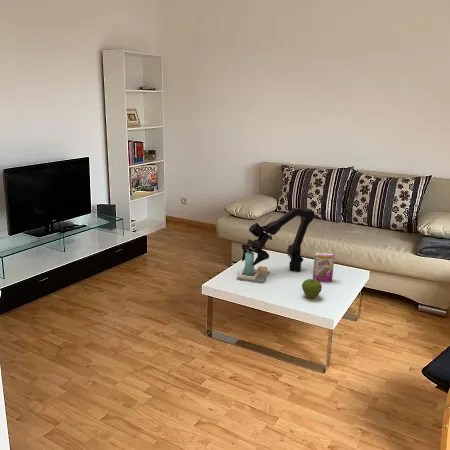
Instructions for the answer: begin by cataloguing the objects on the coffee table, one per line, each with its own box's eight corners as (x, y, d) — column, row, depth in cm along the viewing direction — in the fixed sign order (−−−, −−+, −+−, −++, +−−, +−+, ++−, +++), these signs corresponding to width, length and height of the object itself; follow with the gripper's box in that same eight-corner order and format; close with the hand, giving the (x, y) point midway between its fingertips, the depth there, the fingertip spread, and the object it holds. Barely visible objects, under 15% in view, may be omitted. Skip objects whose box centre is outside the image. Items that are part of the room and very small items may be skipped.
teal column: (254, 274, 290) (254, 252, 286) (252, 277, 285) (252, 255, 281) (246, 273, 291) (246, 251, 287) (243, 276, 286) (244, 254, 283)
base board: (269, 273, 296) (269, 266, 295) (263, 283, 280) (263, 276, 279) (244, 269, 301) (244, 263, 299) (236, 279, 285) (236, 273, 284)
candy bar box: (313, 281, 285) (315, 255, 280) (312, 278, 289) (314, 252, 285) (332, 282, 284) (334, 256, 279) (331, 279, 288) (333, 253, 284)
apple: (297, 294, 266) (298, 277, 264) (314, 291, 270) (315, 275, 267) (308, 302, 257) (309, 284, 254) (324, 299, 260) (326, 282, 258)
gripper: (243, 230, 290) (229, 252, 286) (266, 237, 277) (252, 260, 273) (252, 240, 298) (239, 261, 293) (275, 248, 284) (261, 270, 280)
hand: (247, 263), depth 285 cm, fingers open, 9 cm apart
